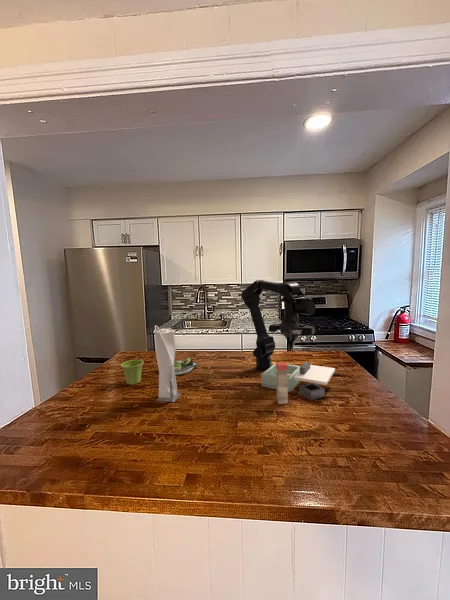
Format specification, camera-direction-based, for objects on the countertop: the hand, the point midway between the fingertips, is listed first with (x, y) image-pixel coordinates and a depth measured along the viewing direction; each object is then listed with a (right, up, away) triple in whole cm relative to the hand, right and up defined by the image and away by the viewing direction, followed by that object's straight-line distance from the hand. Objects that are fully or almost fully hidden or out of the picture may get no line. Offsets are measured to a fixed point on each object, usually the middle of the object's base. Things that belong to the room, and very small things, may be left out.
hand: (291, 348), depth 123 cm
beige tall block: (-8, -16, -20) cm, 27 cm away
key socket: (+4, -15, -16) cm, 22 cm away
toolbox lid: (+7, -9, -10) cm, 15 cm away
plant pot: (-69, -16, +3) cm, 71 cm away
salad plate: (-51, -14, +18) cm, 56 cm away
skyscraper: (-51, -17, -13) cm, 55 cm away
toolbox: (-4, -14, -3) cm, 14 cm away
